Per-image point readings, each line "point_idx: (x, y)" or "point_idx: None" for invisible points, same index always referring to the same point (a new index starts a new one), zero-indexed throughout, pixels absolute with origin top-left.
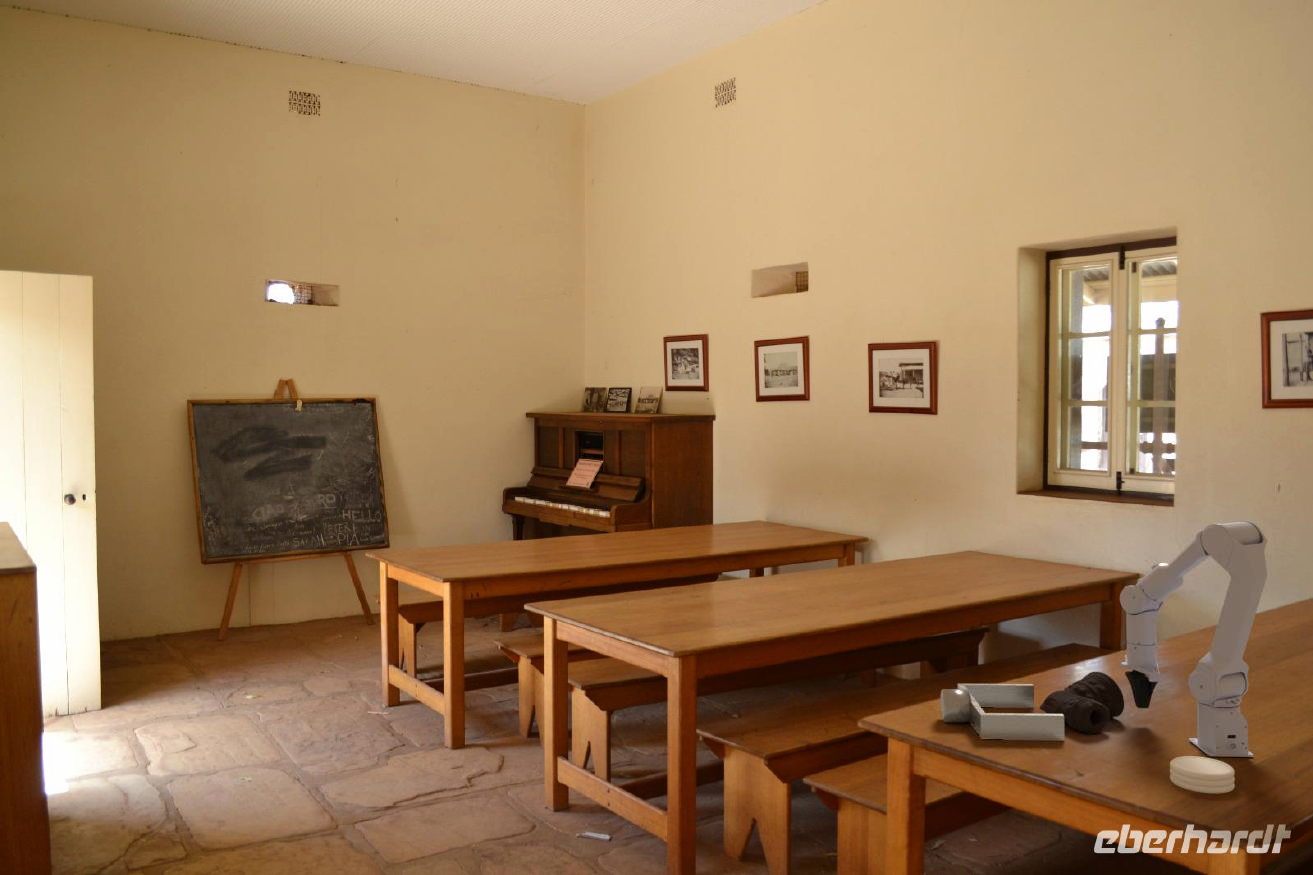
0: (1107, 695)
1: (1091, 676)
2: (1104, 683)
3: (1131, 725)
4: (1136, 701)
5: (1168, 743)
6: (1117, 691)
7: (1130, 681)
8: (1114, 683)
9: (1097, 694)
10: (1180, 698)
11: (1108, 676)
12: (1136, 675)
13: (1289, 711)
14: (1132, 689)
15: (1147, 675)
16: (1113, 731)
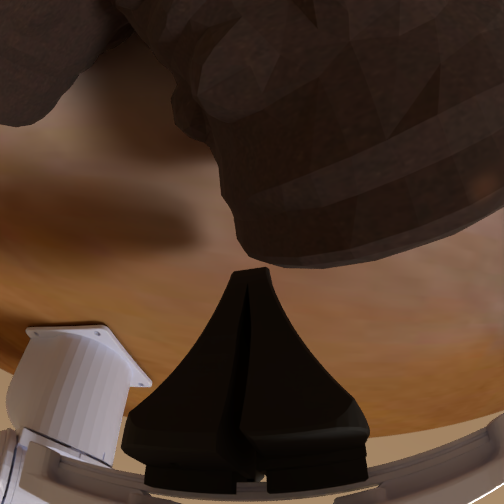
0: (187, 123)
1: (500, 29)
2: (290, 128)
3: (216, 194)
4: (231, 290)
5: (59, 276)
6: (239, 226)
7: (259, 381)
8: (281, 249)
9: (161, 33)
10: (482, 340)
11: (403, 237)
12: (167, 462)
13: (371, 432)
14: (273, 331)
15: (110, 481)
16: (97, 115)
